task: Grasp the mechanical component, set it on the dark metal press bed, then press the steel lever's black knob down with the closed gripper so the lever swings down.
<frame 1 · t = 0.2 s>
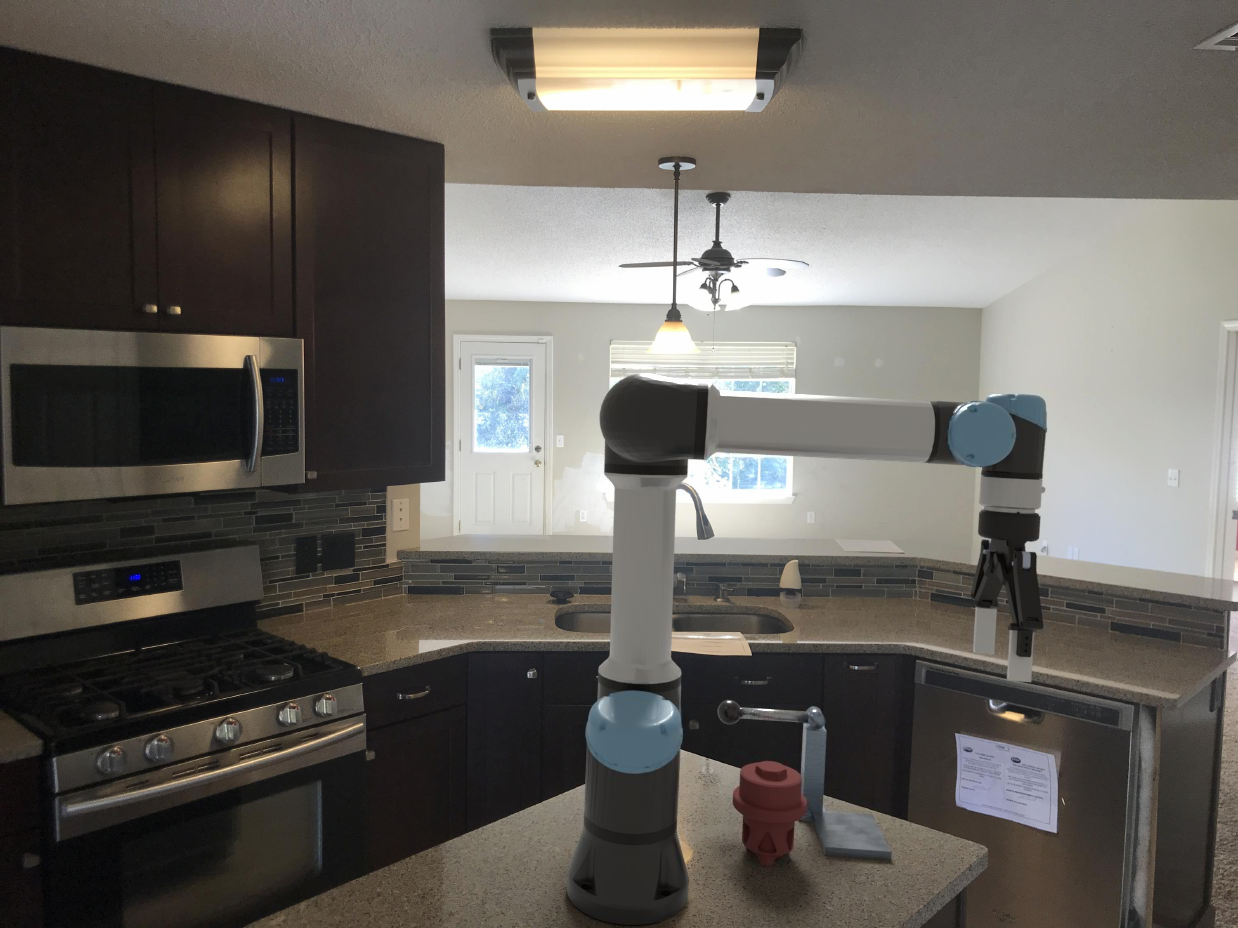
hand: (1000, 666, 114), 28 cm above the countertop, fingers open, 13 cm apart
mechanical component: (766, 855, 116), on the countertop
lever: (770, 714, 128), point 15 cm above the countertop, hinge at 0.0°
press: (849, 836, 122), on the countertop
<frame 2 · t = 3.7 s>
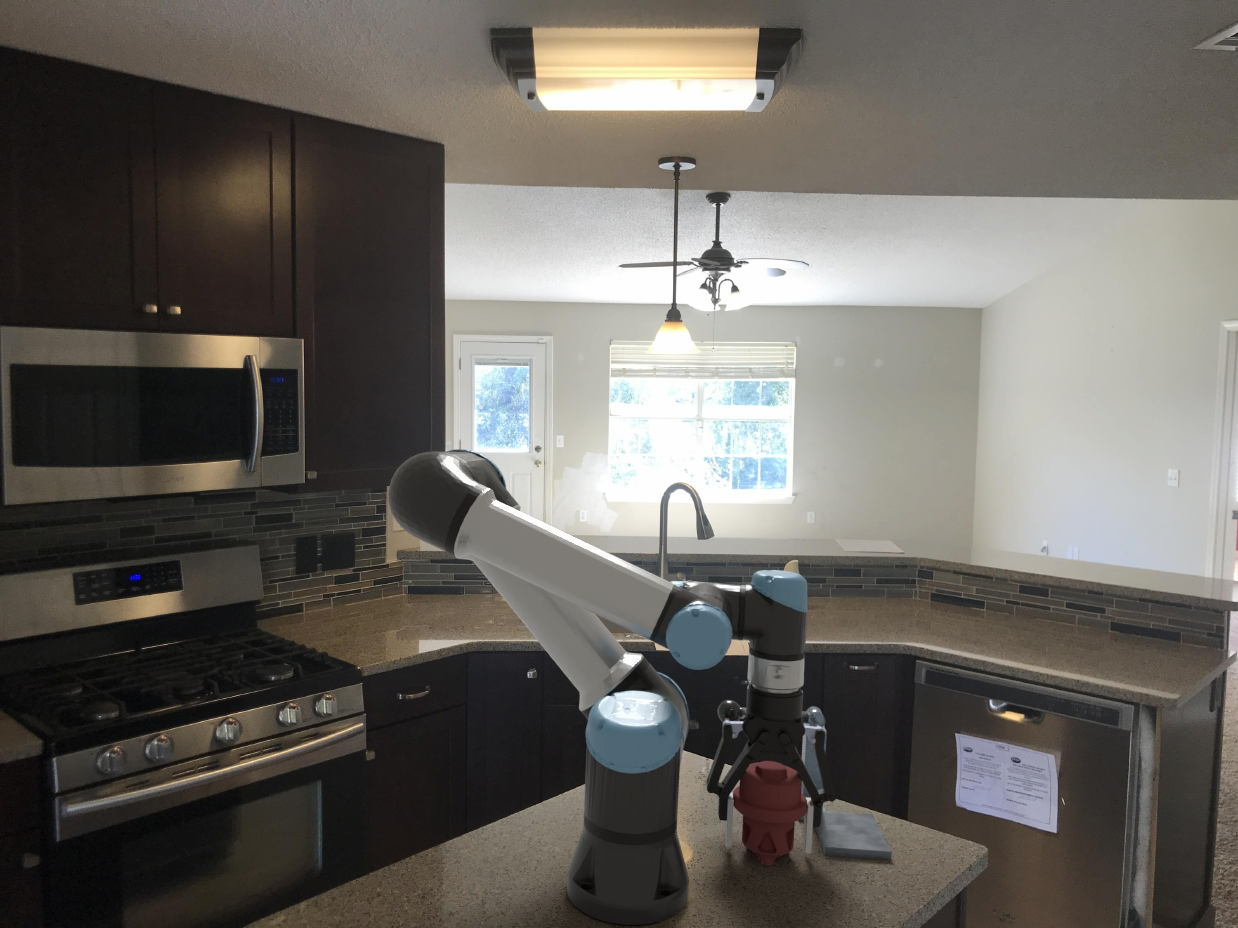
hand: (767, 845, 115), 1 cm above the countertop, fingers closed on mechanical component, 10 cm apart
mechanical component: (766, 855, 116), on the countertop, touching gripper
everything else where it was.
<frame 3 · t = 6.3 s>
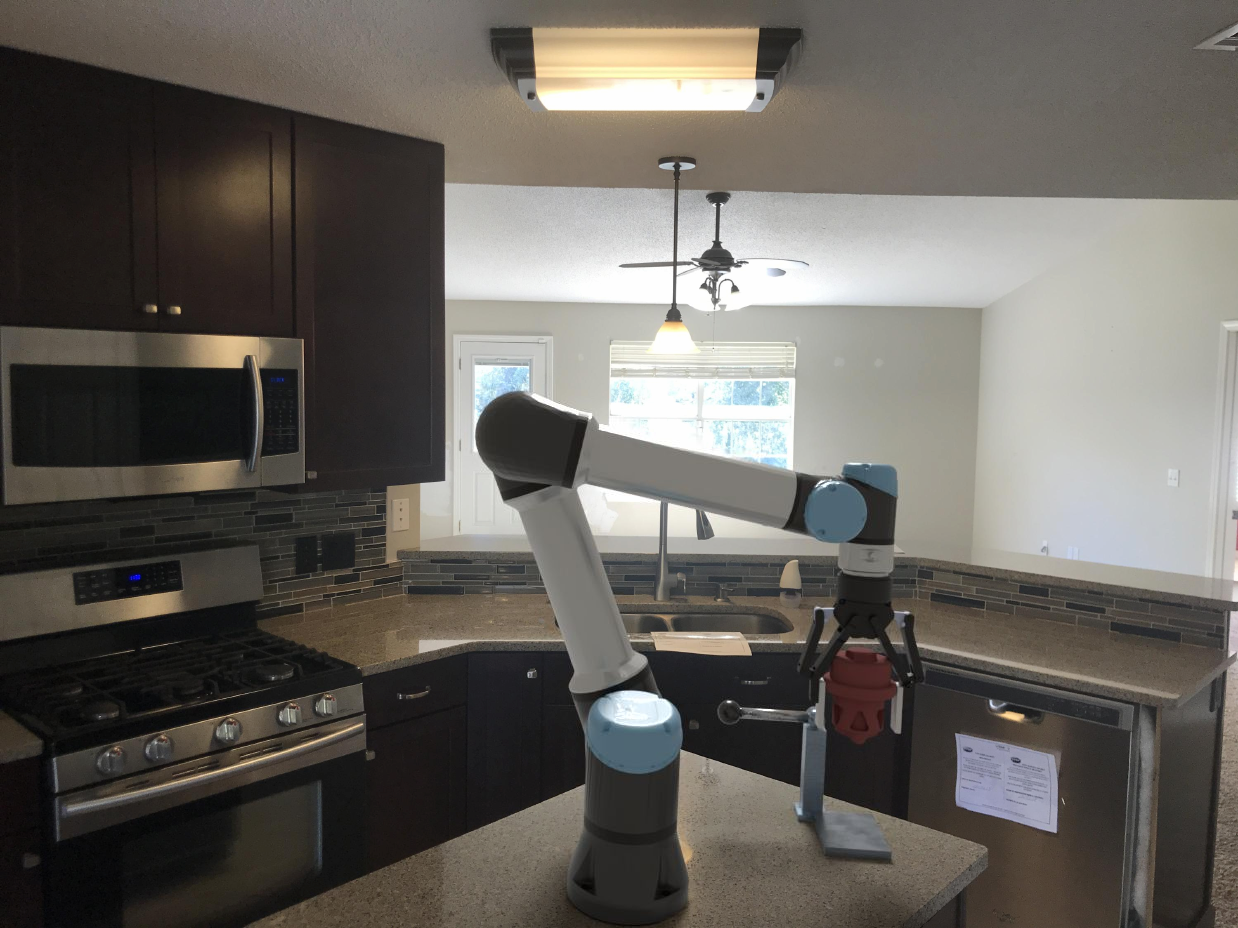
hand: (857, 727, 120), 17 cm above the countertop, fingers closed on mechanical component, 10 cm apart
mechanical component: (856, 737, 120), point 15 cm above the countertop, touching gripper
everything else where it was.
when the fingers open (4 cm above the countertop, at t = 9.1 s): mechanical component drops 1 cm, resting on press.
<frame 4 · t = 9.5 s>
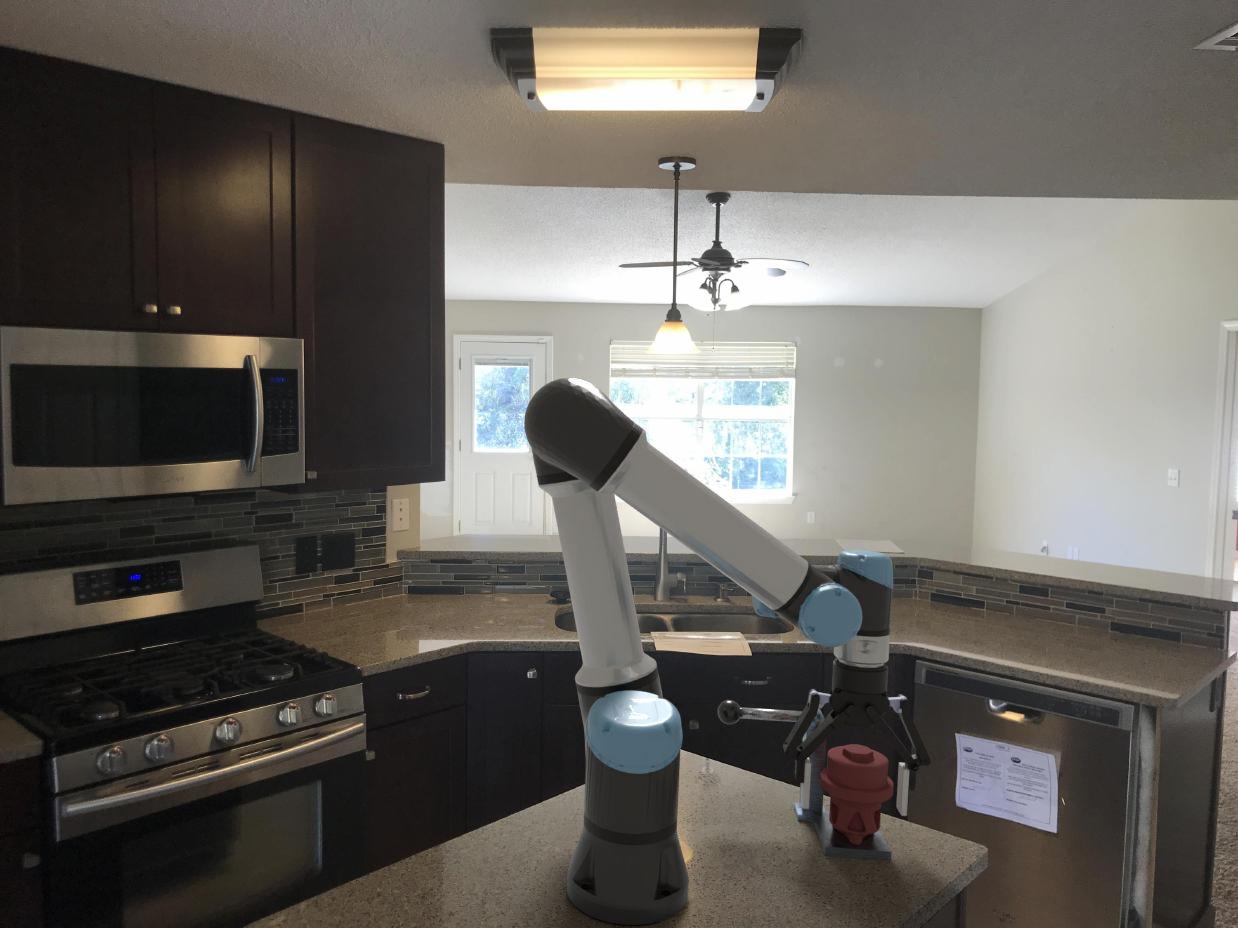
hand: (852, 808, 120), 5 cm above the countertop, fingers open, 13 cm apart
mechanical component: (853, 835, 120), point 1 cm above the countertop, touching press
everything else where it was.
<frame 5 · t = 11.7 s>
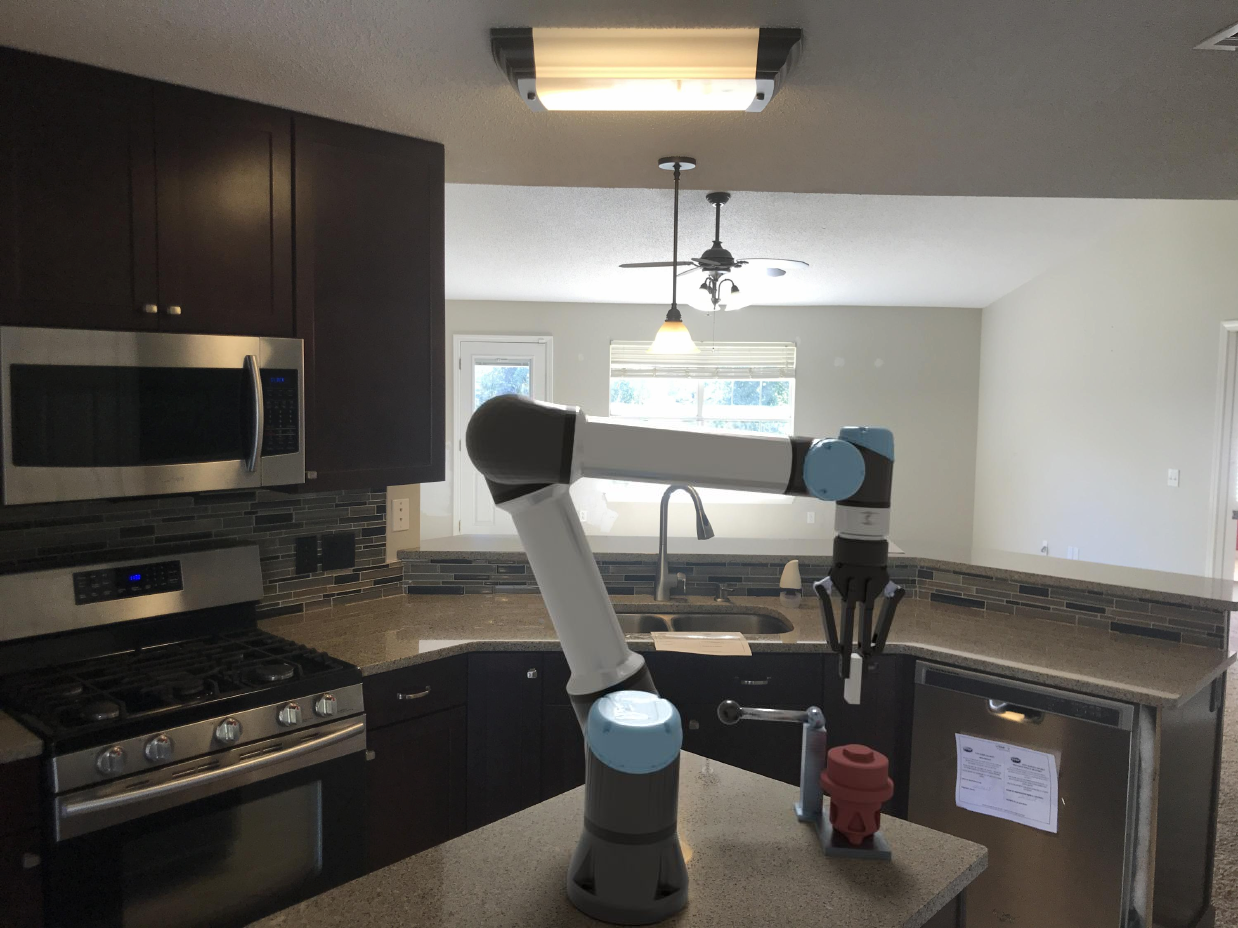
hand: (851, 700, 120), 20 cm above the countertop, fingers closed
nothing on the countertop moved.
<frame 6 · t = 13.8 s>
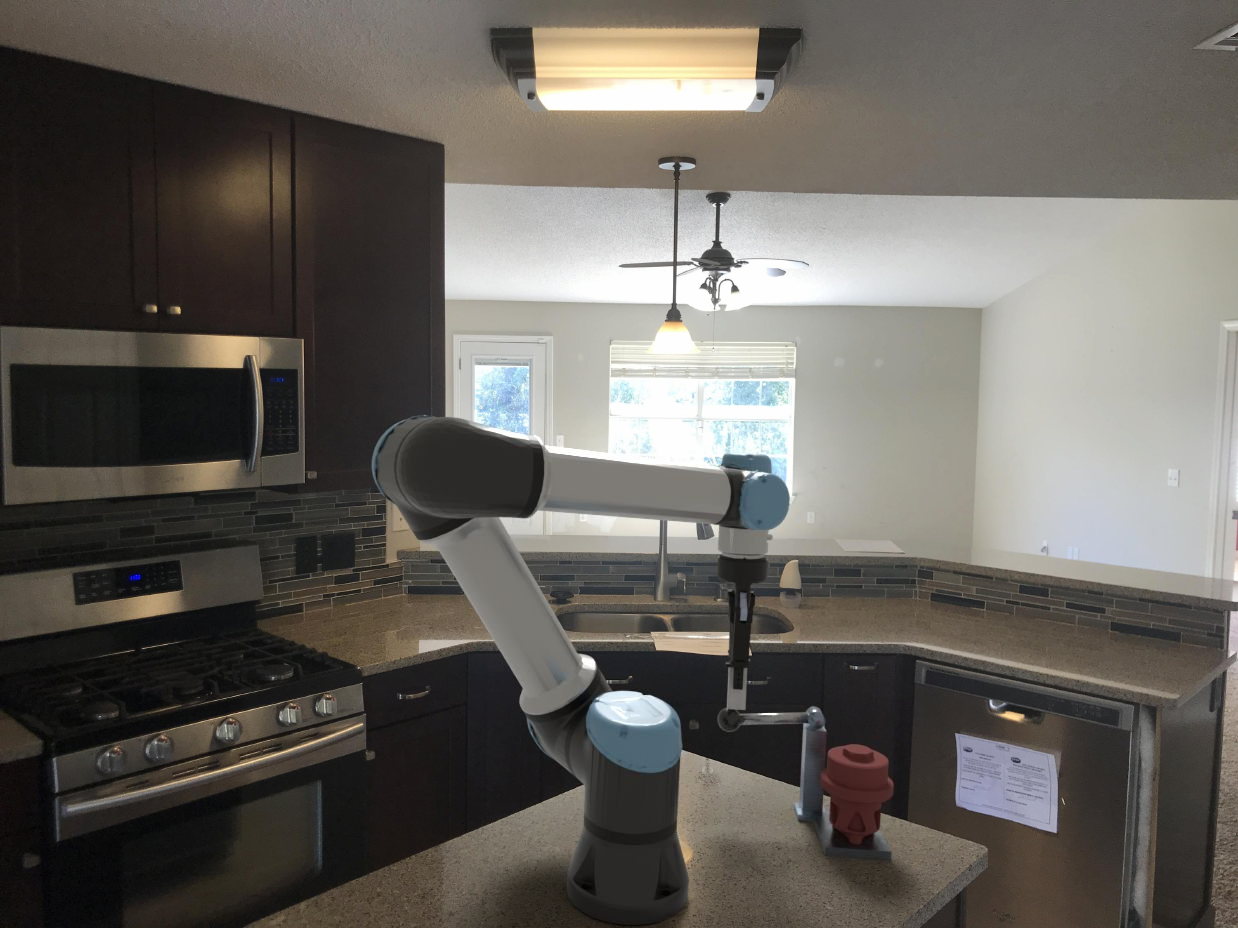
hand: (736, 707, 129), 16 cm above the countertop, fingers closed
lever: (770, 718, 128), point 14 cm above the countertop, hinge at 5.1°, touching gripper
everything else where it was.
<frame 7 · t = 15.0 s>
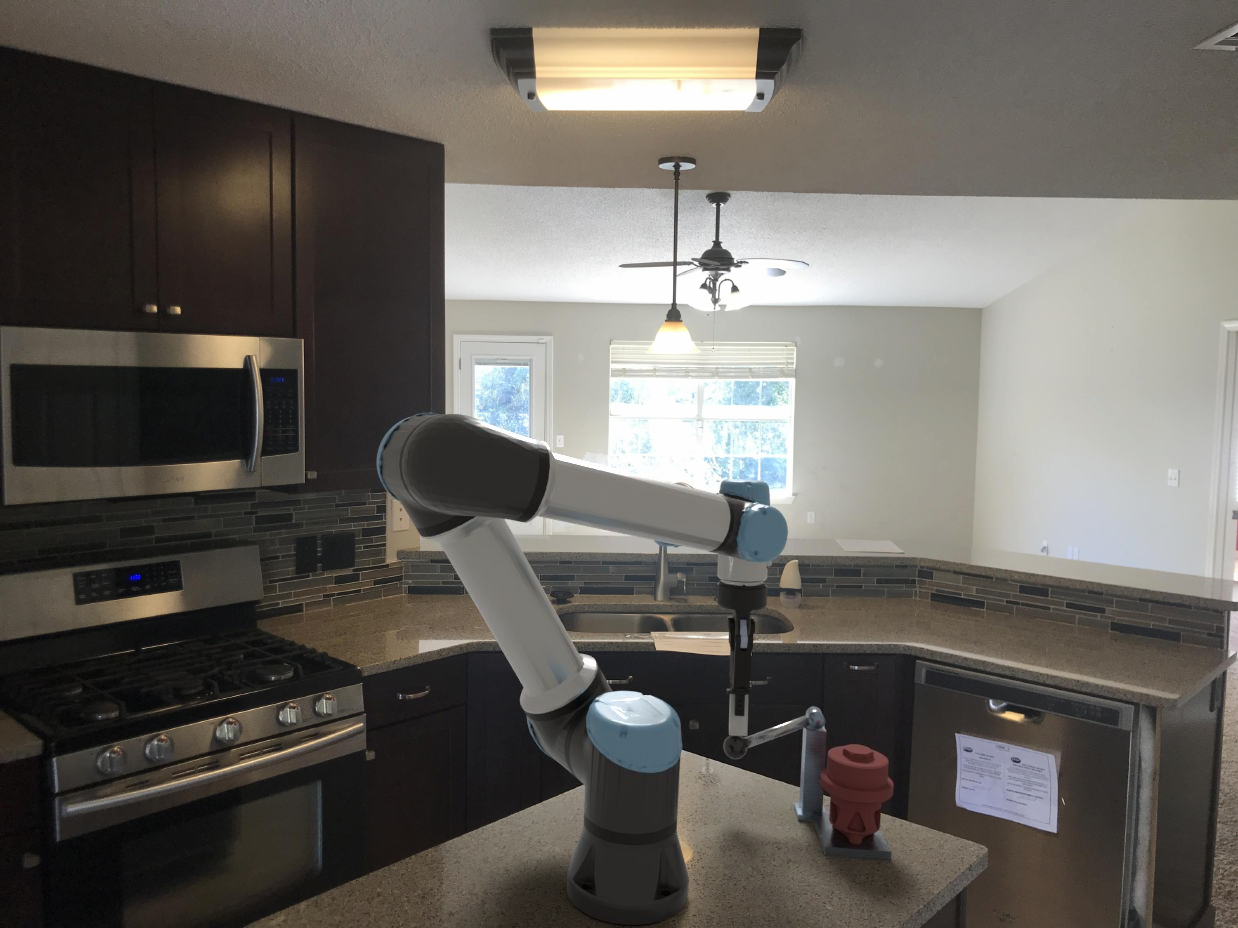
hand: (737, 733, 129), 12 cm above the countertop, fingers closed
lever: (773, 732, 128), point 12 cm above the countertop, hinge at 24.1°, touching gripper, press
everything else where it was.
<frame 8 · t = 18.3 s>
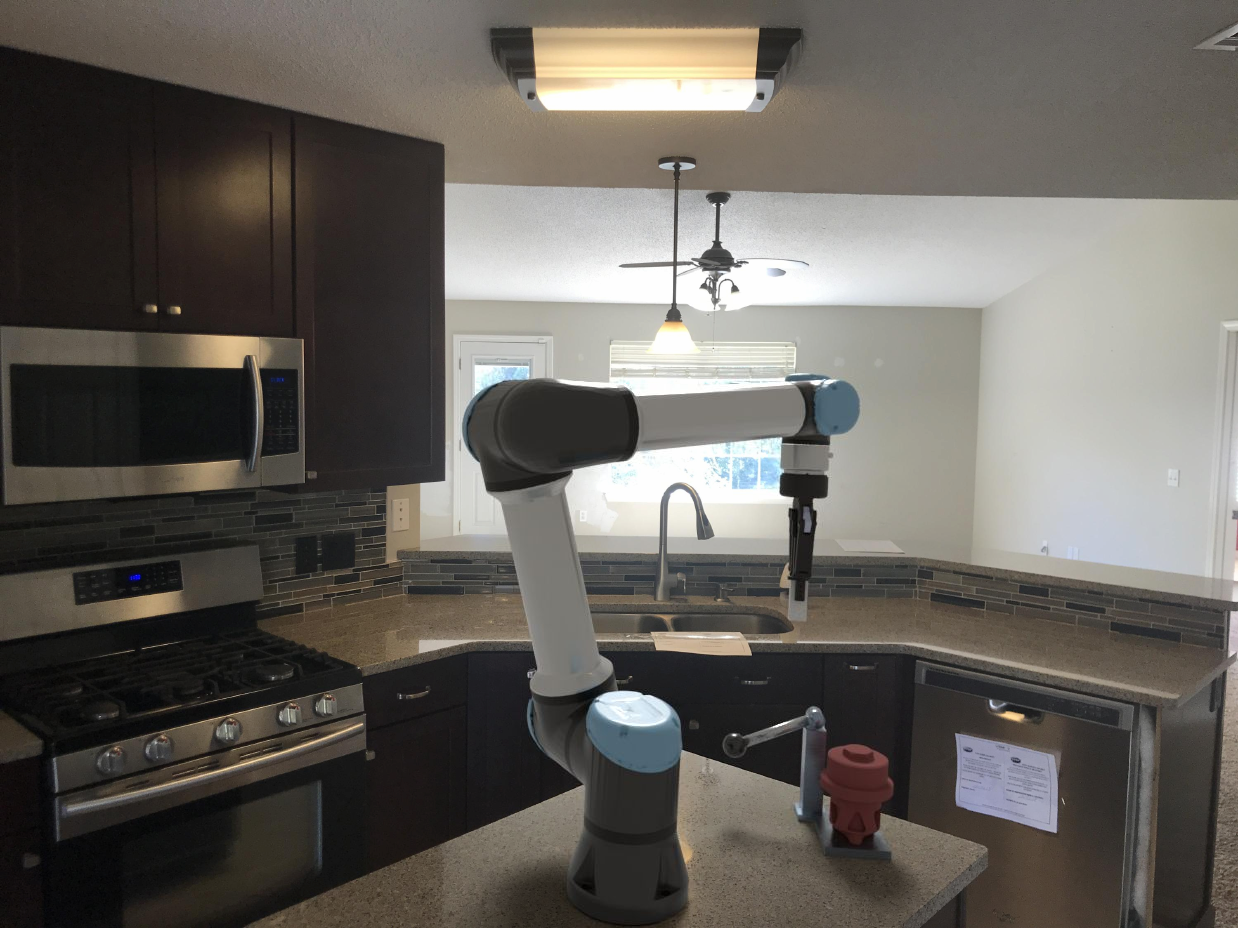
hand: (797, 619, 134), 28 cm above the countertop, fingers closed
lever: (773, 732, 128), point 12 cm above the countertop, hinge at 23.0°, touching press
everything else where it was.
at the end: mechanical component inside the target area (0.7 cm from its centre), point 1.0 cm above the countertop; mechanical component touching press; lever at +23° (first picture: +0°) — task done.
